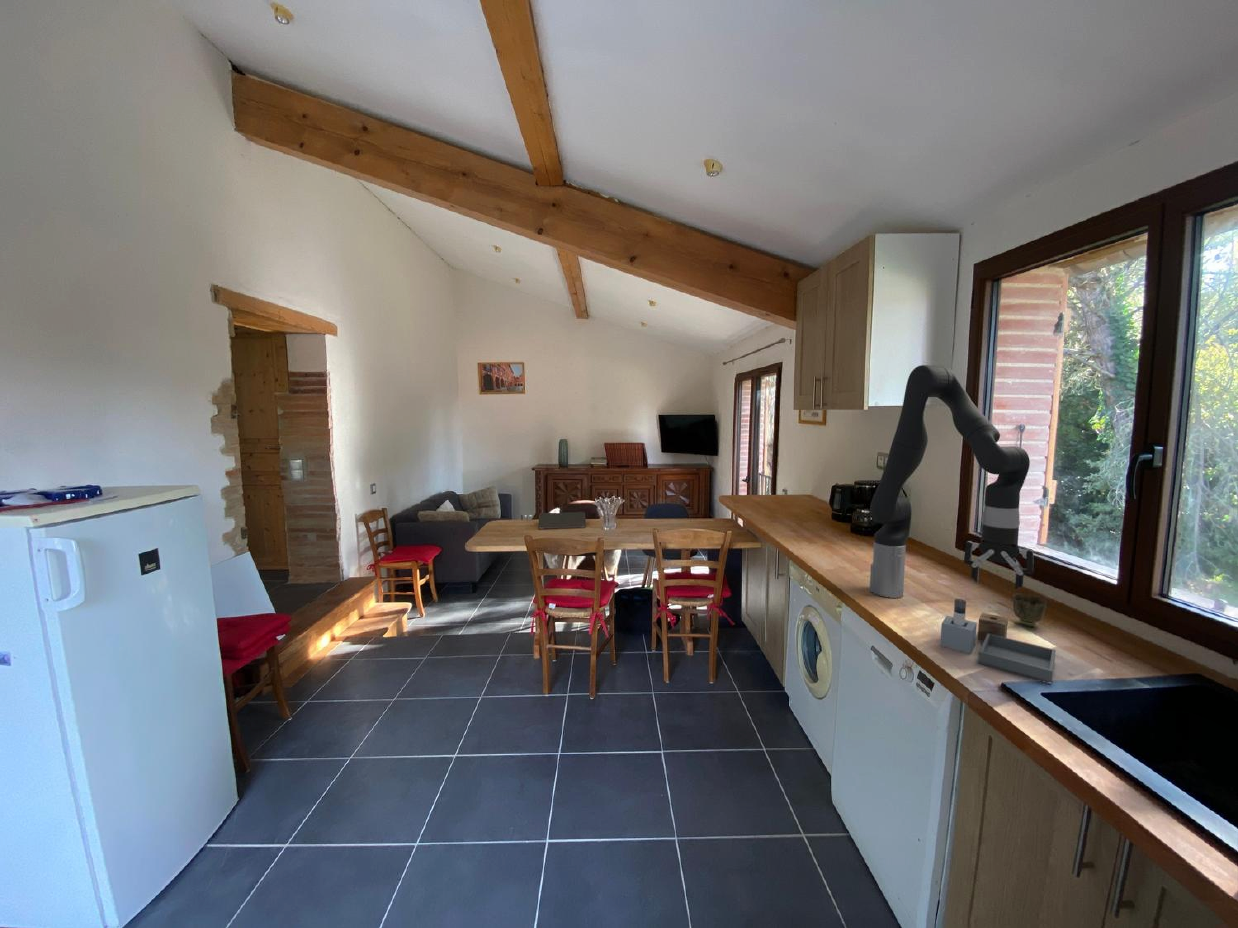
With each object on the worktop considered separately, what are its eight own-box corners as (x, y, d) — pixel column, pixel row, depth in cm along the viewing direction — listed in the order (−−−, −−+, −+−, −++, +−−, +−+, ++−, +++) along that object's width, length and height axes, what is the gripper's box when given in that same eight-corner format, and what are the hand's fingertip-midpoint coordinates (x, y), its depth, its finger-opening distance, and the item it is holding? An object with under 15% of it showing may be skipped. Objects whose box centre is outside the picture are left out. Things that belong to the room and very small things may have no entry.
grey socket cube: (940, 645, 126) (941, 623, 126) (945, 636, 131) (946, 615, 130) (970, 653, 122) (972, 630, 121) (975, 644, 126) (976, 622, 126)
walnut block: (977, 640, 129) (978, 618, 128) (980, 633, 133) (982, 612, 132) (1003, 647, 125) (1005, 624, 125) (1006, 639, 129) (1007, 618, 128)
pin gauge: (951, 645, 126) (953, 600, 125) (952, 641, 128) (955, 597, 127) (962, 648, 125) (965, 603, 123) (963, 644, 126) (966, 600, 125)
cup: (1041, 622, 139) (1043, 595, 138) (1047, 633, 132) (1050, 604, 132) (1008, 617, 142) (1010, 591, 142) (1013, 627, 136) (1015, 599, 135)
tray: (978, 663, 117) (979, 651, 117) (986, 644, 127) (987, 633, 126) (1051, 684, 108) (1052, 671, 108) (1054, 661, 118) (1055, 649, 117)
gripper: (964, 522, 128) (960, 581, 130) (1035, 530, 118) (1030, 595, 120) (969, 517, 133) (965, 575, 135) (1037, 525, 123) (1033, 587, 125)
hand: (996, 584), depth 127 cm, fingers open, 8 cm apart
